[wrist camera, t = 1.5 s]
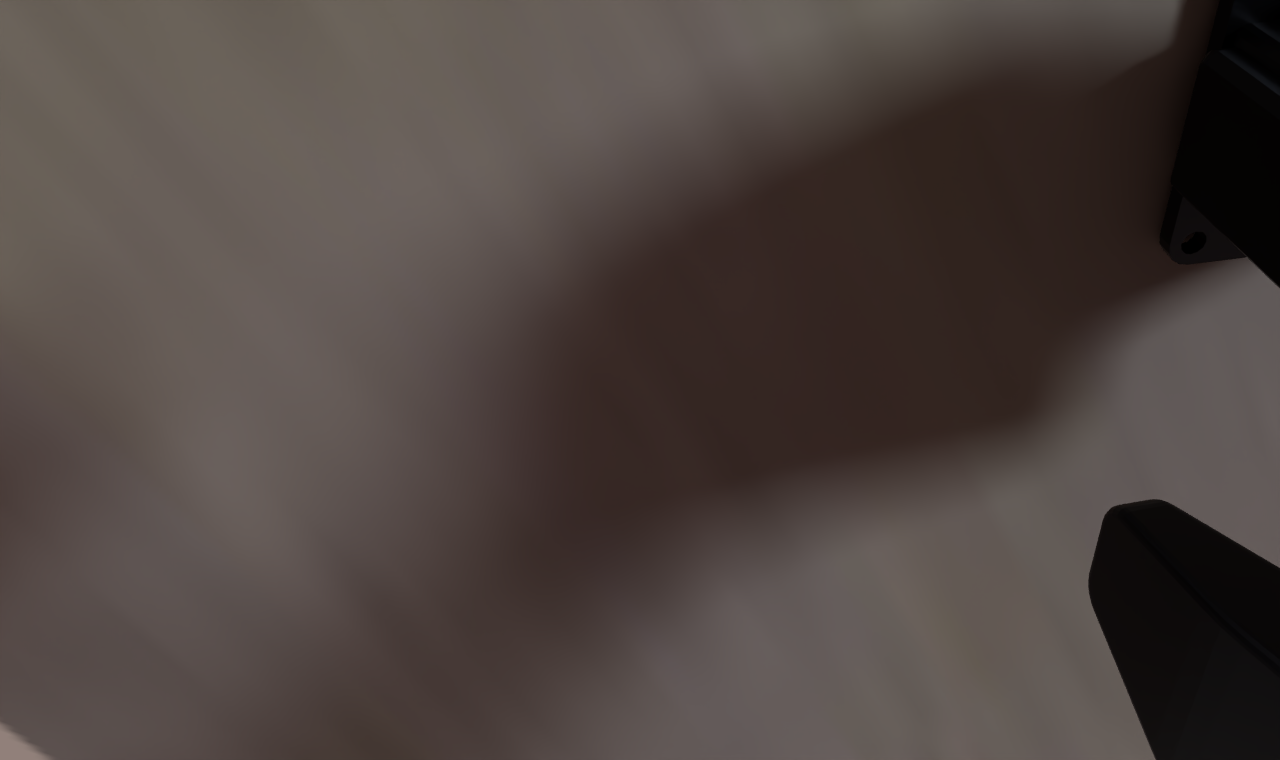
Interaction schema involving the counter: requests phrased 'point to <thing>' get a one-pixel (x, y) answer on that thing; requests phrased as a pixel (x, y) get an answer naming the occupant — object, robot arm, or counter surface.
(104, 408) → the counter surface
